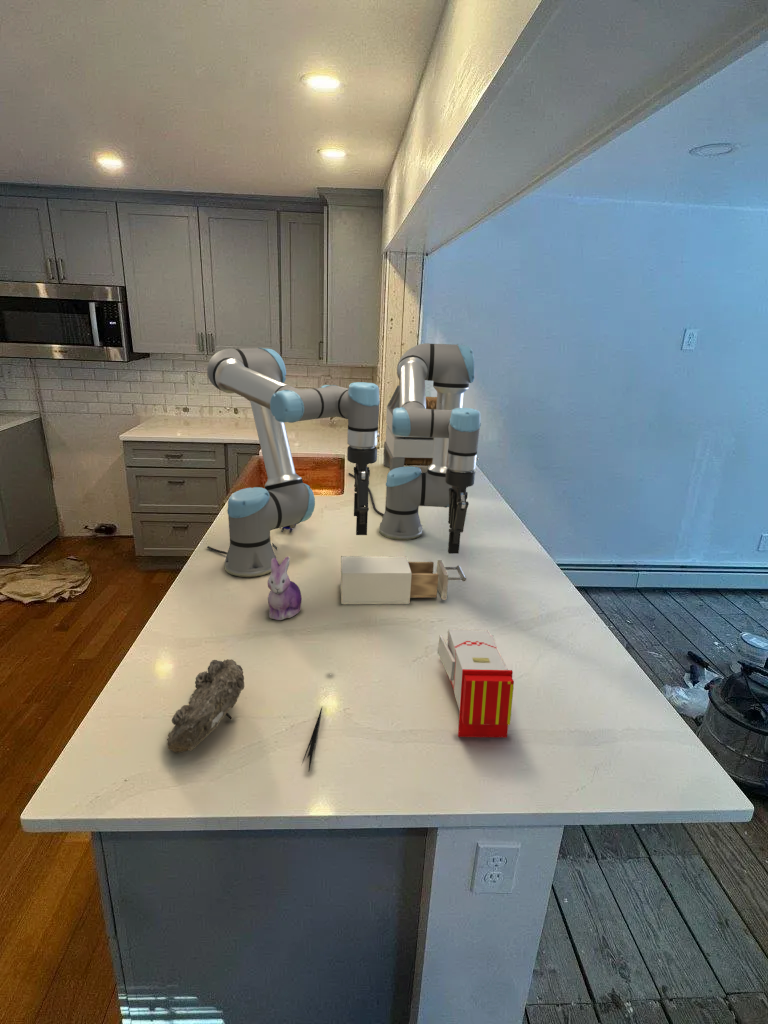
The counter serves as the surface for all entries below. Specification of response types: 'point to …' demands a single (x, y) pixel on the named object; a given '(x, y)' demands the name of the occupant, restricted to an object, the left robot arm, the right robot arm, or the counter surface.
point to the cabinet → (375, 580)
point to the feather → (313, 740)
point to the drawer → (431, 579)
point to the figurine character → (288, 527)
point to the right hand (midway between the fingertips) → (453, 552)
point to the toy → (478, 682)
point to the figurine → (282, 592)
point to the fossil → (206, 705)
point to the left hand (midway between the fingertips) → (360, 524)
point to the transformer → (406, 440)
